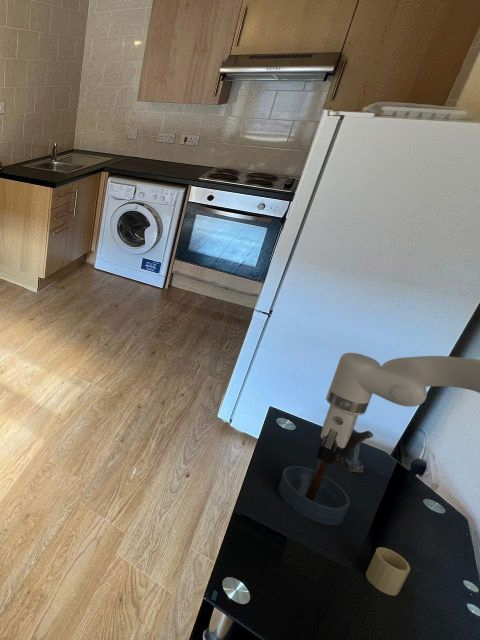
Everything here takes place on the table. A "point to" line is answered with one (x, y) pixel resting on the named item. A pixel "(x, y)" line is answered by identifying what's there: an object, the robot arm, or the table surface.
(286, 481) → the bowl
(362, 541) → the table surface
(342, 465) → the antler
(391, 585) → the cup
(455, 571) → the table surface
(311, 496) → the stick
